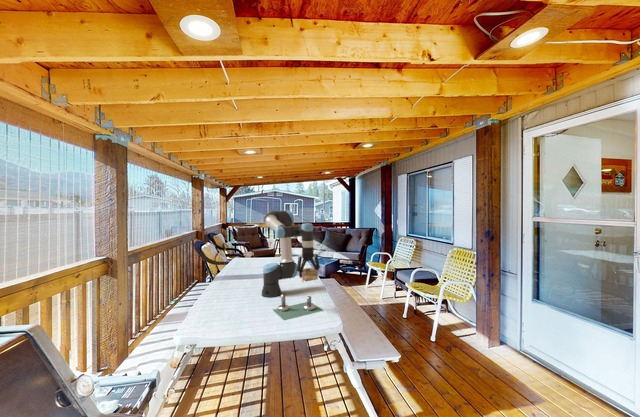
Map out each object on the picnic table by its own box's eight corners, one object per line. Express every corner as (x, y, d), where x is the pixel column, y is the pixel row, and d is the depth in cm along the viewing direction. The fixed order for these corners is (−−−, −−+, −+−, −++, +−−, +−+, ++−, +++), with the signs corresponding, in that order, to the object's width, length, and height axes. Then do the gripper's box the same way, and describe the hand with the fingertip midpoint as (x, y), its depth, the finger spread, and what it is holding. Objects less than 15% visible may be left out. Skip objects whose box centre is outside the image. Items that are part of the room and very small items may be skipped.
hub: (301, 308, 193) (301, 296, 193) (311, 305, 197) (311, 294, 197) (306, 311, 186) (306, 299, 186) (317, 309, 190) (317, 297, 190)
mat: (272, 310, 191) (272, 309, 191) (309, 301, 205) (309, 301, 205) (284, 321, 174) (284, 320, 174) (323, 311, 188) (323, 310, 188)
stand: (276, 309, 192) (276, 294, 192) (286, 306, 196) (286, 292, 195) (280, 312, 186) (280, 297, 186) (290, 310, 190) (290, 295, 189)
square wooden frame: (299, 278, 192) (299, 269, 192) (311, 276, 197) (311, 267, 197) (305, 281, 185) (305, 272, 184) (317, 279, 189) (317, 270, 189)
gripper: (295, 249, 181) (296, 284, 182) (324, 245, 192) (325, 279, 193) (290, 247, 188) (291, 282, 189) (319, 244, 199) (319, 276, 200)
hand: (308, 280), depth 191 cm, fingers closed on square wooden frame, 9 cm apart
